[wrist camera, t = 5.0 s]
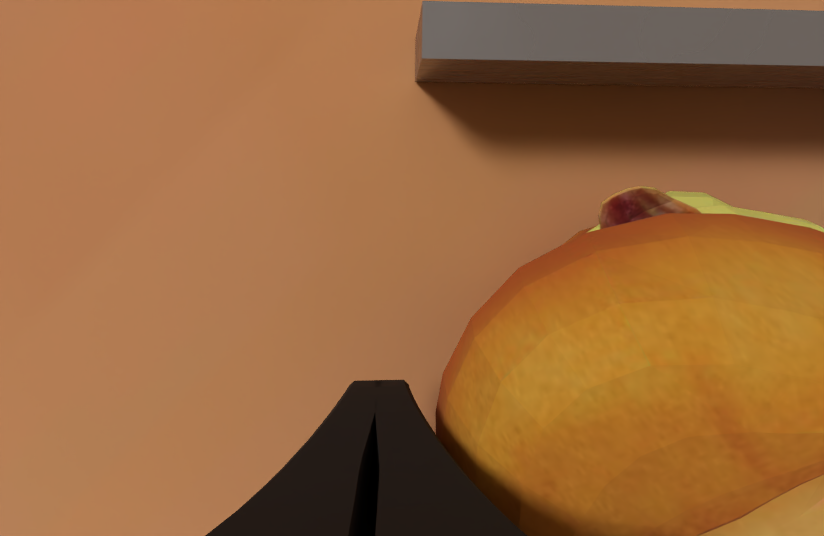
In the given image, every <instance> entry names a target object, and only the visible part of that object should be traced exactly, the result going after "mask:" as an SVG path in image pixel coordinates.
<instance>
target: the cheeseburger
mask: <svg viewBox="0 0 824 536" xmlns="http://www.w3.org/2000/svg"><path fill="white" fill-rule="evenodd" d="M598 217H599V225H598V226H595V227H592V228H589V229H586V230H582V231H579V232H578V233H577V234H576V235H574V236H573V237H572V238H571V239H569V240H568V241H567V242H566V243H564V244H563V245H562V246H560V247H558V248H556V249H554V250H552V251H550V252H548V253H546V254H544V255H543V256H541V257H539V258H537V259H535V260H533V261H531V262H529V263H527V264H525V265H524V266H522V267H520V268H518V270H517V271H516V272H515V273H514V274H513V275H512V276H511V277H510V278H509V279H508V280H507V281H506V282H505V283H504V284H503V285H502V286H501V287H500V288H499V289H498V290H497V291H496V293H495V294H494V295H493V296H492V297H491V298H490V299H489V300H488V301H487V302H486V303H485V304H484V305H483V306H482V307H481V308H480V309H479V310H478V311H477V312H476V313H475V315H474V316H473V317H472V318H471V319H470V321H469V323H468V325H467V327H466V329H465V331H464V333H463V335H462V337H461V339H460V341H459V343H458V345H457V347H456V349H455V351H454V353H453V355H452V357H451V359H450V361H449V363H448V365H447V367H446V368H445V370H444V372H443V376H442V381H441V387H440V392H439V397H438V403H437V408H436V436H437V437H438V439H439V440H440V441H441V443H442V444H443V446H444V447H445V448H446V450H447V451H448V452H449V454H450V455H451V456H452V457H453V459H454V460H455V461H456V463H457V464H458V465H459V466H460V468H461V469H462V470H463V471H464V472H465V474H466V475H467V476H468V477H469V478H470V479H471V481H472V482H473V483H474V484H475V485H476V486H477V487H478V488H479V489H480V490H481V492H482V493H483V494H484V495H485V496H486V497H487V498H488V499H489V500H490V501H491V502H492V503H493V504H494V505H495V506H496V507H497V508H498V509H499V510H500V511H501V512H502V513H503V514H504V515H505V516H506V517H507V518H508V519H509V520H510V521H511V522H512V523H513V524H514V525H516V526H517V527H518V528H519V529H520V530H521V531H523V532H524V533H525V534H526V535H527V536H824V229H823V228H822V227H821V226H819V225H816V224H814V223H812V222H809V221H807V220H804V219H799V218H793V217H788V216H782V215H777V214H771V213H766V212H760V211H754V210H748V209H742V208H736V207H732V206H730V205H728V204H726V203H724V202H722V201H720V200H718V199H716V198H714V197H712V196H710V195H708V194H706V193H702V192H679V191H669V192H667V193H663V192H661V191H660V190H658V189H656V188H653V187H645V186H637V187H632V188H628V189H625V190H623V191H620V192H618V193H615V194H613V195H612V196H610V197H609V198H607V199H606V200H604V201H603V202H601V206H600V210H599V214H598Z"/></svg>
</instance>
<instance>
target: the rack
mask: <svg viewBox="0 0 824 536" xmlns="http://www.w3.org/2000/svg"><path fill="white" fill-rule="evenodd" d="M415 82H460V83H522V84H584V85H645V86H707V87H769V88H824V11H806V10H766V9H725V8H685V7H645V6H604V5H564V4H524V3H483V2H443V1H422V7H421V12H420V18H419V23H418V29H417V34H416V64H415Z"/></svg>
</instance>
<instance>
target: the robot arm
mask: <svg viewBox="0 0 824 536" xmlns="http://www.w3.org/2000/svg"><path fill="white" fill-rule="evenodd" d="M206 536H527V535H526V534H525V533H524V532H523V531H521V530H520V529H519V528H518V527H517V526H516V525H514V524H513V523H512V522H511V521H510V520H509V519H508V518H507V517H506V516H505V515H504V514H503V513H502V512H501V511H500V510H499V509H498V508H497V507H496V506H495V505H494V504H493V503H492V502H491V501H490V500H489V499H488V498H487V497H486V496H485V495H484V494H483V493H482V492H481V490H480V489H479V488H478V487H477V486H476V485H475V484H474V483H473V482H472V481H471V479H470V478H469V477H468V476H467V475H466V474H465V472H464V471H463V470H462V469H461V468H460V466H459V465H458V464H457V463H456V461H455V460H454V459H453V457H452V456H451V455H450V454H449V452H448V451H447V450H446V448H445V447H444V446H443V444H442V443H441V441H440V440H439V439H438V437H437V436H436V434H435V433H434V431H433V430H432V428H431V427H430V425H429V424H428V422H427V421H426V419H425V417H424V416H423V414H422V412H421V410H420V409H419V407H418V405H417V403H416V401H415V399H414V397H413V395H412V393H411V391H410V388H409V385H408V384H407V383H406V382H405V381H404V380H374V381H354V382H353V383H352V384H350V385H349V387H348V388H347V390H346V391H345V393H344V394H343V396H342V397H341V399H340V400H339V402H338V403H337V404H336V406H335V407H334V408H333V410H332V411H331V412H330V414H329V415H328V416H327V418H326V419H325V420H324V421H323V423H322V424H321V425H320V426H319V427H318V429H317V430H316V431H315V432H314V434H313V435H312V436H311V437H310V438H309V440H308V441H307V442H306V443H305V444H304V445H303V446H302V447H301V448H300V450H299V451H298V452H297V453H296V454H295V455H294V456H293V457H292V458H291V459H290V460H289V462H288V463H287V464H286V465H285V466H284V467H283V468H282V469H281V470H280V471H279V472H278V473H277V474H276V475H275V476H274V477H273V478H272V479H271V480H270V481H269V482H268V483H267V484H266V485H265V486H264V487H263V488H262V489H261V490H260V491H258V492H257V493H256V494H255V495H254V496H253V497H252V498H251V499H250V500H249V501H247V502H246V503H245V504H244V505H243V506H242V507H241V508H240V509H238V510H237V511H236V512H235V513H234V514H232V515H231V516H230V517H229V518H227V519H226V520H225V521H224V522H222V523H221V524H220V525H218V526H217V527H216V528H215V529H213V530H212V531H211V532H210V533H208V534H207V535H206Z"/></svg>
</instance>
